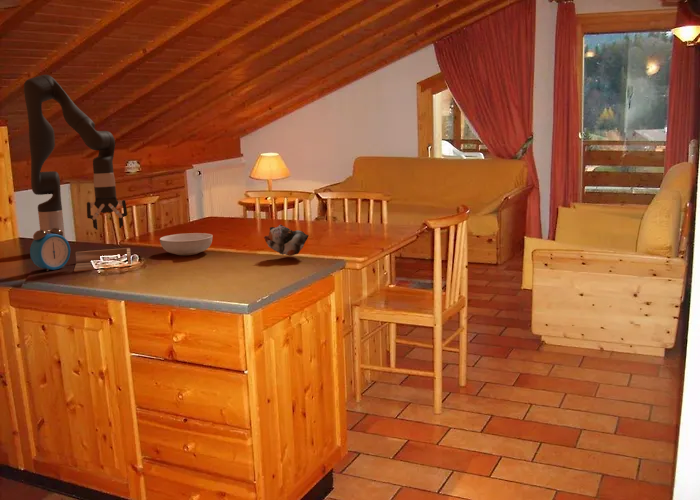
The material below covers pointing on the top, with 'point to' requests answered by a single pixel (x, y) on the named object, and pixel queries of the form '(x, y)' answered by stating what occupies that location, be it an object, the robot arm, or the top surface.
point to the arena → (97, 257)
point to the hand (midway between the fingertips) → (108, 228)
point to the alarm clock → (50, 249)
